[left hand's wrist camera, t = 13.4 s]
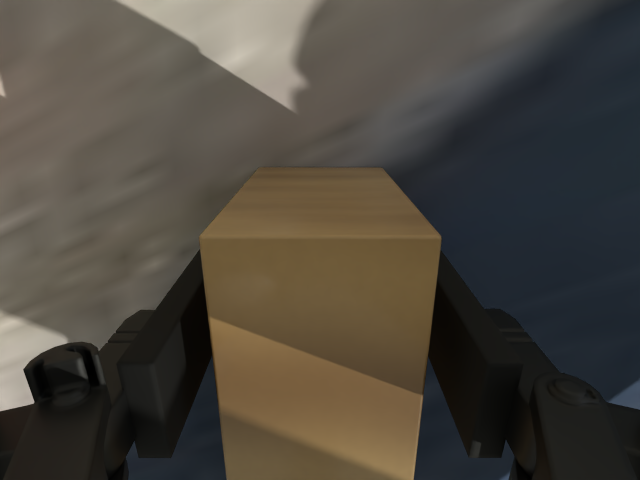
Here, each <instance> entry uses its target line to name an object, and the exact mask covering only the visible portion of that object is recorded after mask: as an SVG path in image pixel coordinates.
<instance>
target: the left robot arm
mask: <svg viewBox="0 0 640 480" xmlns="http://www.w3.org/2000/svg"><path fill="white" fill-rule="evenodd" d="M211 357H212V347H211V339H210V330H209V321H208V313H207V304H206V295H205V287H204V278H203V269H202V260H201V252H200V250H199V251H198V252H197V254H196V255H195V257H194V258H193V259H192V261H191V262H190V263H189V265H188V266H187V268H186V269H185V270H184V272H183V273H182V274H181V276H180V277H179V278H178V280H177V281H176V283H175V284H174V285H173V287H172V288H171V289H170V291H169V292H168V293H167V295H166V296H165V298H164V299H163V300H162V302H161V303H160V304H159V306H158V307H157V308H156V310H140V311H138V312H137V313H135V314H134V315H132V316H131V317H129V318H127V319H126V320H125V321H124V322H123V323H122V325H121V326H120V327H119V328H118V329H117V331H116V333H114V334H113V335H112V337H111V338H110V339H109V340H108V343H106V344H105V345H104V346H103V347H102V349H101V350H100V351H99V352H98V348H97V347H95V346H94V345H93V344H91V343H85V342H75V343H67V344H64V345H60V346H56V347H54V348H51V349H49V350H47V351H45V352H43V353H41V354H39V355H38V356H37V357H35V358H34V359H32V360H31V361H30V362H29V363H28V364H27V366H26V367H25V368H24V369H23V370H24V373H25V376H26V379H27V382H28V384H29V387H30V390H31V393H32V396H33V399H34V401H35V402H34V404H31V405H27V406H23V407H18V408H14V409H9V410H5V411H0V480H128V474H129V471H128V465H127V461H126V456H127V454H128V452H129V450H130V448H131V446H132V444H133V442H134V440H135V444H136V448H137V453H138V457H139V458H171V457H172V454H173V452H174V449H175V447H176V444H177V442H178V439H179V437H180V434H181V432H182V429H183V427H184V424H185V422H186V419H187V417H188V414H189V412H190V409H191V407H192V404H193V402H194V399H195V397H196V394H197V392H198V389H199V387H200V384H201V382H202V379H203V377H204V374H205V372H206V369H207V367H208V364H209V362H210V359H211ZM428 357H429V359H430V362H431V364H432V367H433V369H434V372H435V374H436V377H437V379H438V382H439V384H440V387H441V389H442V392H443V394H444V397H445V399H446V402H447V404H448V407H449V409H450V412H451V414H452V417H453V419H454V422H455V424H456V427H457V429H458V432H459V434H460V437H461V439H462V442H463V444H464V447H465V449H466V452H467V454H468V457H469V458H501V457H502V453H503V448H504V444H505V440H507V442H508V444H509V446H510V448H511V450H512V452H513V454H514V455H515V457H514V461H513V465H512V468H511V472H510V476H509V480H640V410H638V409H634V408H629V407H625V406H620V405H616V404H612V403H608V402H605V400H604V399H603V397H602V396H601V394H600V393H599V392H598V391H597V390H596V389H594V388H593V387H592V386H591V385H589V384H588V383H586V382H584V381H582V380H580V379H578V378H577V377H574V376H571V375H567V374H564V373H560V372H559V371H558V370H557V368H556V367H555V366H554V365H553V364H552V362H551V361H550V360H549V359H548V358H547V356H546V355H545V354H544V353H543V352H542V350H541V349H540V348H539V347H538V346H537V344H536V343H535V342H532V339H531V337H530V336H529V335H528V334H527V333H526V332H524V329H523V328H522V327H521V325H520V324H519V323H518V322H517V321H516V319H515V318H513V317H512V316H510V315H509V314H507V313H505V312H504V311H502V310H501V309H484V308H483V307H482V306H481V304H480V303H479V302H478V300H477V299H476V298H475V296H474V295H473V293H472V292H471V291H470V289H469V288H468V287H467V285H466V284H465V283H464V281H463V280H462V278H461V277H460V276H459V274H458V273H457V272H456V270H455V269H454V268H453V266H452V265H451V263H450V262H449V261H448V259H447V258H446V257H445V255H444V254H443V253H442V251H441V250H440V257H439V266H438V274H437V283H436V291H435V300H434V308H433V317H432V326H431V334H430V343H429V351H428Z"/></svg>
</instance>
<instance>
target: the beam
mask: <svg viewBox="0 0 640 480" xmlns="http://www.w3.org/2000/svg"><path fill="white" fill-rule="evenodd" d="M441 240H442V238H441V235H440V234H439V233H438V232H437V231H436V230H435V228H434V227H433V226H432V225H431V224H430V223H429V221H428V220H427V219H426V218H425V217H424V216H423V214H422V213H421V212H420V211H419V210H418V209H417V208H416V206H415V205H414V204H413V203H412V202H411V201H410V199H409V198H408V197H407V196H406V195H405V194H404V192H403V191H402V190H401V189H400V188H399V187H398V186H397V184H396V183H395V182H394V181H393V180H392V179H391V177H390V176H389V175H388V174H387V173H386V172H385V170H384V169H383V168H328V167H260V168H258V169H257V170H256V171H255V173H254V174H253V175H252V176H251V177H250V178H249V179H248V181H247V182H246V183H245V184H244V185H243V186H242V187H241V189H240V190H239V191H238V192H237V193H236V194H235V196H234V197H233V198H232V199H231V200H230V201H229V202H228V204H227V205H226V206H225V207H224V208H223V209H222V210H221V212H220V213H219V214H218V215H217V216H216V217H215V219H214V220H213V221H212V222H211V223H210V224H209V225H208V227H207V228H206V229H205V230H204V231H203V232H202V233H201V235H200V236H199V243H200V252H201V260H202V269H203V278H204V287H205V295H206V304H207V313H208V321H209V330H210V339H211V347H212V356H213V365H214V374H215V382H216V391H217V400H218V408H219V417H220V426H221V434H222V443H223V452H224V461H225V469H226V478H227V480H414V471H415V462H416V454H417V445H418V437H419V428H420V420H421V411H422V403H423V394H424V385H425V377H426V368H427V360H428V351H429V343H430V334H431V326H432V317H433V308H434V300H435V291H436V283H437V274H438V266H439V257H440V249H441Z"/></svg>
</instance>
